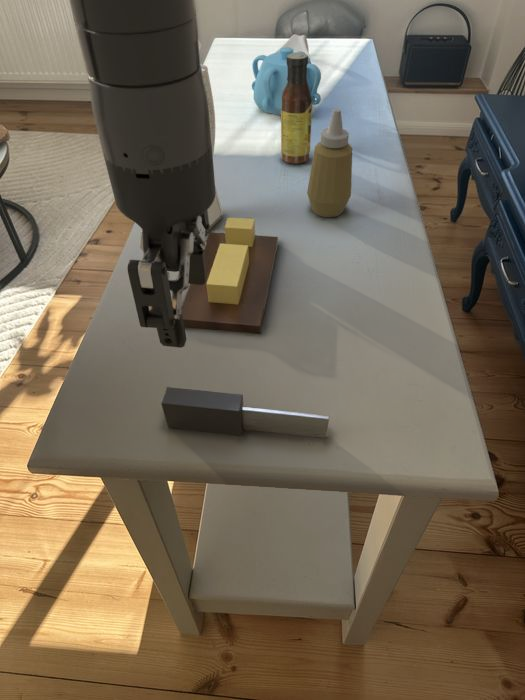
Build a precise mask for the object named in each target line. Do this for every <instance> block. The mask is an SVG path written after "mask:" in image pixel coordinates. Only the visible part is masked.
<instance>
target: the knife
mask: <svg viewBox="0 0 525 700" xmlns="http://www.w3.org/2000/svg"><path fill="white" fill-rule="evenodd" d="M160 405H161V407H162V411H163V414H164V418H165V422H166V425H167V428H168V429H176V430H186V431H195V432H201V433H203V432H204V433H212V434H221V435H230V436H240V437H242V435H243V430H246V431H254V432H255V431H256V432H265V433H272V434H273V433H274V434H283V435H291V436H292V435H293V436H301V437H310V438H320V439H327V435H328V429H329V423H330V415H327V414H317V413H307V412H297V411H289V410H278V409H268V408H261V407H260V408H259V407H251V406H244V395H243V394H240V393H229V392H228V393H227V392H221V391H210V390H200V389H191V388H190V389H189V388H180V387H171V386H167V387H166V388H165V391H164V393H163V396H162V400H161V404H160Z"/></svg>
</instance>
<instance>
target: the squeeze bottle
mask: <svg viewBox="0 0 525 700" xmlns="http://www.w3.org/2000/svg"><path fill="white" fill-rule="evenodd" d="M342 117H343V116H342V110H341V109H340V108H334V109H333V110H332V114H331V117H330V120H329V124H328V127H326V128H325V129H322V131H320V141H319V142H318V143H316V145H314V150H313V155H312V162H311V166H310V167H311V168H310V172H309V173H310V174H309V178H308V179H309V180H308V185H307V191H306V193H307V196H308V200H309V205H310V208H311V210H312V212H313V214H315V215H317V216H318V217H321V218H322V217H323V218H334V217H337V216H340V215H342V213H343V212H344V210H345V208H346V206H347V204H348V202H349V200H350V199H351V196H352V175H353V174H352V173H353V172H352V171H353V147H352V145H350V144H349V137H350V133H349V131H348V130H346V129H344V128H343V118H342Z"/></svg>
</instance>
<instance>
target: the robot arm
mask: <svg viewBox="0 0 525 700" xmlns="http://www.w3.org/2000/svg"><path fill="white" fill-rule="evenodd" d="M69 4H70V9H71V10H70V11H71V14H72V19H73V22H74V27H75V31H76V35H77V40H78V43H79V48H80V52H81V56H82V58H83V63H84V67H85V71H86V74H87V80H88V86H89V92H90V102H91V110H92V114H93V119H94V123H95V128H96V131H97V135H98V139H99V143H100V146H101V150H102V155H103V158H104V163H105V167H106V170H107V174H108V179H109V182H110V186H111V191H112V194H113V197H114V202H115V205H116V208H117V209H118V211H119V212H120V213H121V214H122V216H124V217H126V218H127V219H128V220H130V221H132V222H134V223H135V224H136V225H137V226H138V227H140V229H141V232H140V250H141V251H142V253H143V257H142V259H129V260H128V262H127V269H126V270H127V275H128V279H129V283H130V287H131V291H132V296H133V300H134V305H135V310H136V313H137V317H138V323H139V326H140V328H146V329H147V328H152V329H154V328H155V329H156V331H157V335H158V340H159V343H160V344H161V345H162V346H163V347H171V348H184V347H185V345H186V342H187V335H186V327H185V326H184V322H183V316H182V309H181V308H182V305H183V292H184V291H185V290H188V289H189V286H190V284H198V285H203V284H205V282H206V279H207V275H206V266H205V257H204V250H205V246H206V240H207V238H206V234H209V232H210V230H211V229H210V224H209V219H208V211H207V210H208V209H209V207H210V206H211V205H212V203H213V201H214V199H215V194H216V191H215V187H216V181H215V169H214V167H215V166H214V154H213V155H212V143H211V132H210V120H209V108H208V100H207V95H206V90H205V85H204V81H203V76H202V69H201V64H202V63H201V61H202V60H201V59H202V58H201V55H200V48H199V42H200V38H199V27H198V17H197V16H198V15H197V8H196V0H69ZM200 63H201V64H200ZM209 229H210V230H209ZM205 233H206V234H205ZM170 272H173V273H178V277H176V279H170V277H171V275H170Z"/></svg>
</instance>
